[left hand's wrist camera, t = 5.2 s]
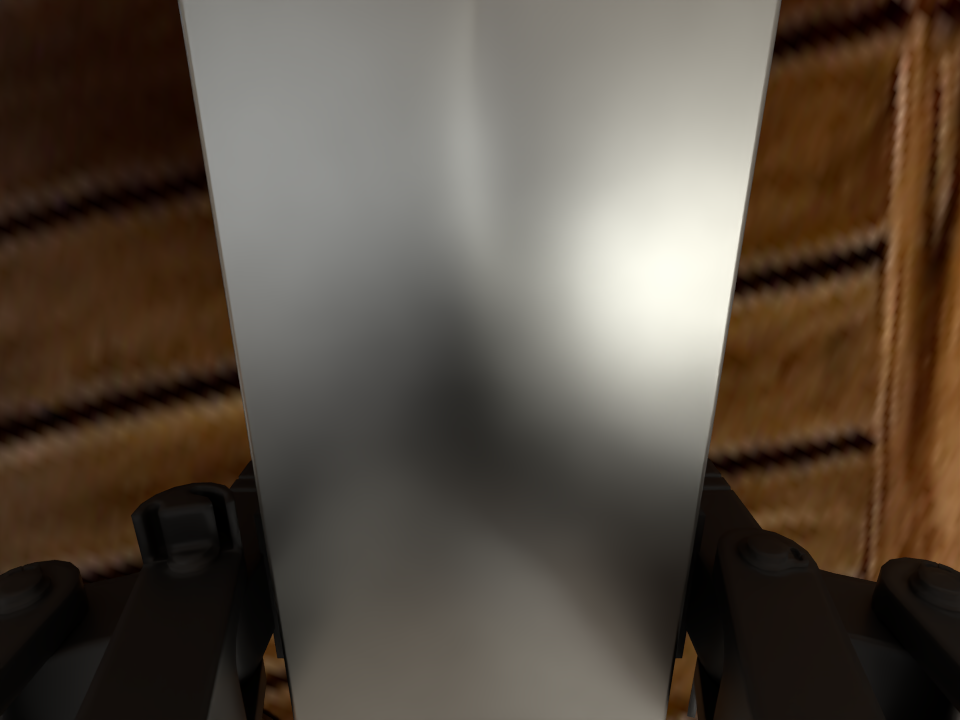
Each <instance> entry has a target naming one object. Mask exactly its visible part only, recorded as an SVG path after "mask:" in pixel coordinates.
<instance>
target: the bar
mask: <svg viewBox="0 0 960 720" xmlns="http://www.w3.org/2000/svg"><path fill="white" fill-rule="evenodd" d="M178 5H179V11H180V17H181V23H182V30H183V36H184V42H185V48H186V54H187V60H188V67H189V73H190V79H191V85H192V91H193V98H194V104H195V110H196V116H197V122H198V129H199V135H200V141H201V147H202V153H203V160H204V166H205V172H206V178H207V184H208V191H209V197H210V203H211V209H212V215H213V221H214V228H215V234H216V240H217V246H218V252H219V259H220V265H221V271H222V277H223V283H224V290H225V296H226V302H227V308H228V314H229V321H230V327H231V333H232V339H233V345H234V352H235V358H236V364H237V370H238V376H239V382H240V389H241V395H242V401H243V407H244V413H245V420H246V426H247V432H248V438H249V444H250V451H251V457H252V463H253V469H254V475H255V482H256V488H257V494H258V500H259V506H260V513H261V519H262V525H263V531H264V537H265V543H266V550H267V556H268V562H269V568H270V574H271V581H272V587H273V593H274V599H275V605H276V612H277V618H278V624H279V630H280V636H281V643H282V649H283V655H284V661H285V667H286V674H287V680H288V686H289V692H290V698H291V704H292V711H293V717H294V720H665V719H666V713H667V707H668V701H669V694H670V688H671V682H672V676H673V670H674V663H675V657H676V651H677V645H678V639H679V632H680V626H681V620H682V614H683V608H684V601H685V595H686V589H687V583H688V577H689V570H690V564H691V558H692V552H693V546H694V539H695V533H696V527H697V521H698V515H699V508H700V502H701V496H702V490H703V484H704V477H705V471H706V465H707V459H708V452H709V446H710V440H711V434H712V428H713V421H714V415H715V409H716V403H717V397H718V390H719V384H720V378H721V372H722V366H723V359H724V353H725V347H726V341H727V335H728V328H729V322H730V316H731V310H732V304H733V297H734V291H735V285H736V279H737V273H738V266H739V260H740V254H741V248H742V242H743V235H744V229H745V223H746V217H747V211H748V204H749V198H750V192H751V186H752V180H753V173H754V167H755V161H756V155H757V149H758V142H759V136H760V130H761V124H762V118H763V111H764V105H765V99H766V93H767V87H768V80H769V74H770V68H771V62H772V56H773V49H774V43H775V37H776V31H777V25H778V18H779V12H780V6H781V0H178Z"/></svg>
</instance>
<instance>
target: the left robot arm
mask: <svg viewBox="0 0 960 720" xmlns="http://www.w3.org/2000/svg"><path fill="white" fill-rule="evenodd" d="M131 517H132V521H133V524H134V528H135V532H136V536H137V540H138V544H139V548H140V552H141V556H142V559H143V563H144V565H143V567H142V569H141V571H140V572H138V573H134V574H130V575H127V576H122V577H117V578H113V579H108V580H103V581H99V582H94V583H89V584H84V585H83V581H82V578H81V575H80V572H79V569H78V568H77V567H76V566H74V565H73V564H72V563H71V562H66V561H59V560H50V561H42V562H35V563H31V564H27V565H24V566H20V567H17V568H14V569H11V570H9V571H8V572H6V573H4V574H2V575H0V720H273V719H272V718H270V717H269V716H267V715H265V714H264V713H263V706H264V697H265V689H266V674H265V667H264V662H263V655H264V652H265V650H266V648H267V645H268V643H269V641H270V638H271V636H272V634H274V640H275V646H276V652H277V658H284V655H283V649H282V643H281V636H280V630H279V624H278V618H277V612H276V605H275V599H274V593H273V587H272V581H271V574H270V568H269V562H268V556H267V550H266V543H265V537H264V531H263V525H262V519H261V513H260V506H259V500H258V494H257V488H256V482H255V475H254V469H253V463H252V460H251V461H250V462H249V463H248V465H247V466H246V467H245V469H244V470H243V471H242V473H241V474H240V475H239V479H236V481H235V482H234V484H233V485H232V486H231V488H230V489H229V488H227V487H226V486H225V485H221V484H216V483H212V482H208V483H191V484H187V485H182V486H177V487H174V488H171V489H169V490H166V491H164V492H161V493H159V494H156V495H154V496H153V497H151V498H150V499H148V500H147V501H145V502H144V503H142V504H141V505H140V506H139V507H138V508H137V509H136V510H135V511H134V513H133V514H132V515H131ZM686 632H688V634H689V637H690V639H691V641H692V643H693V646H694V648H695V650H696V653H697V655H698V656H697V662H696V667H695V673H694V678H693V684H692V690H691V695H690V701H689V707H688V714H687V716H689V717H693V718H695V714H696V709H697V714H698V720H960V572H958V571H956V570H954V569H952V568H950V567H948V566H945V565H942V564H940V563H939V564H937V563H936V562H932V561H928V560H922V559H914V558H906V557H905V558H898V559H891V560H889V561H888V562H886V563H885V564H884V565H883V566H882V567H881V570H880V573H879V576H878V580H877V582H873V581H868V580H864V579H859V578H854V577H849V576H845V575H840V574H835V573H831V572H827V571H824V570H820V569H819V568H818V566H817V564H816V562H815V561H814V559H813V558H812V557H811V555H810V554H809V553H808V551H806V550H805V549H804V548H802V547H801V546H800V545H798V544H797V543H796V542H794V541H793V540H791V539H788V538H786V537H784V536H782V535H780V534H777V533H775V532H771V531H767V530H763V529H762V528H761V527H760V526H759V524H758V523H757V522H756V520H755V519H754V518H753V516H752V515H751V514H750V512H749V511H748V510H747V508H746V507H745V506H744V504H743V503H742V502H741V500H740V499H739V498H738V496H737V495H736V494H735V492H734V491H733V490H731V489H730V486H729V484H728V483H727V482H726V480H725V479H724V478H723V477H721V474H720V472H719V471H718V470H717V468H716V467H715V466H714V464H713V463H712V462H711V460H710V459H709V458H708V459H707V465H706V471H705V477H704V484H703V490H702V496H701V502H700V508H699V515H698V521H697V527H696V533H695V539H694V546H693V552H692V558H691V564H690V570H689V577H688V583H687V589H686V595H685V601H684V608H683V614H682V620H681V626H680V632H679V639H678V645H677V651H676V657H675V658H682V656H683V650H684V644H685V638H686Z"/></svg>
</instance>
